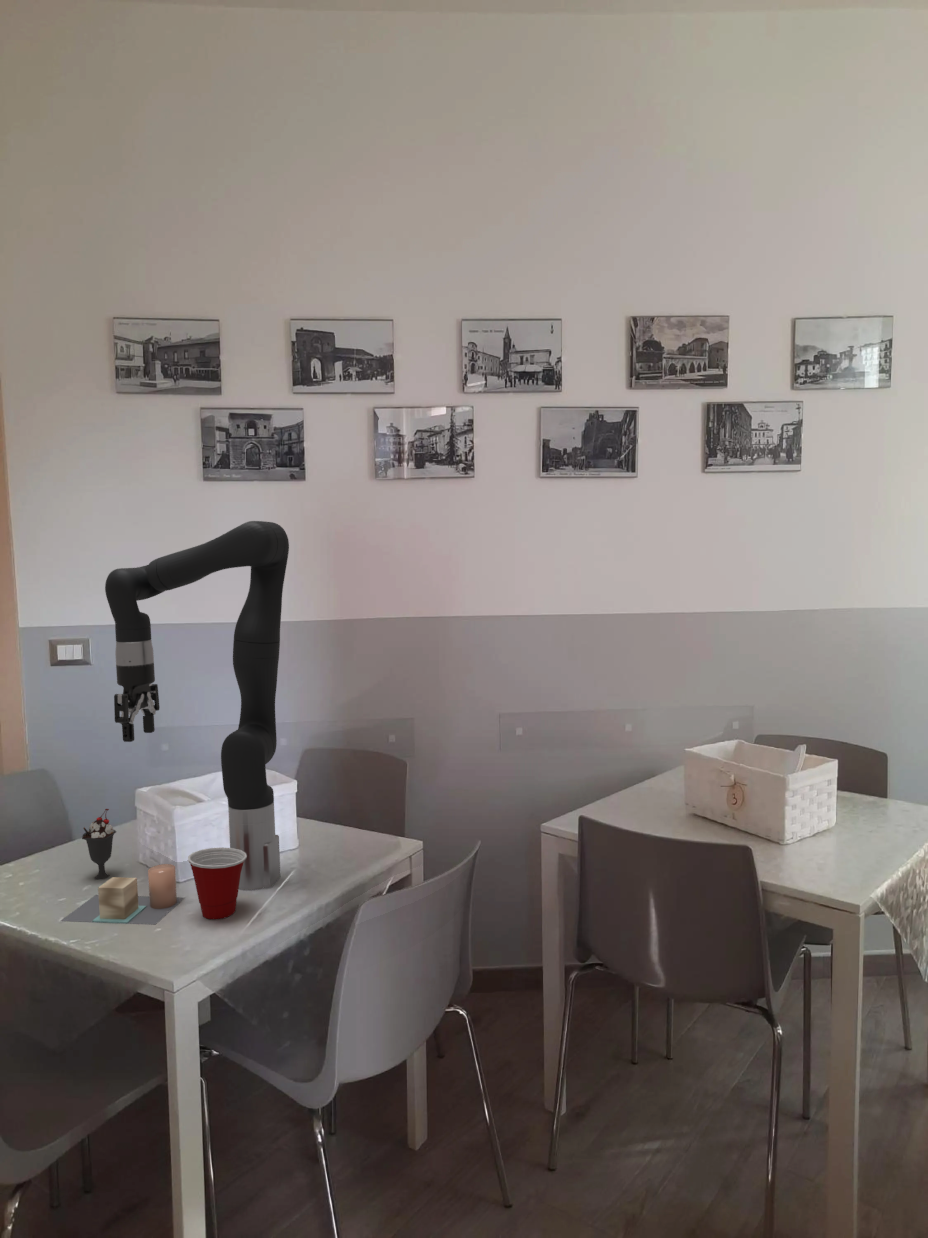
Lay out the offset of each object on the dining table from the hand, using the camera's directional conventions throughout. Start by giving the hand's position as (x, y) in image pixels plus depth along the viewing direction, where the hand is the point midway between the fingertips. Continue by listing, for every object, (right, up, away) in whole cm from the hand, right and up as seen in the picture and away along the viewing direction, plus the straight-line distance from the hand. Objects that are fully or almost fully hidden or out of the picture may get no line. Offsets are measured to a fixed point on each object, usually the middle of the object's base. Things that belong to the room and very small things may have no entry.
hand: (139, 736), depth 179 cm
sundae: (-8, -31, 0) cm, 32 cm away
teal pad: (+4, -32, -19) cm, 37 cm away
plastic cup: (+23, -32, -19) cm, 44 cm away
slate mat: (+4, -32, -17) cm, 36 cm away
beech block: (+4, -31, -20) cm, 37 cm away
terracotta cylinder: (+11, -31, -15) cm, 36 cm away
